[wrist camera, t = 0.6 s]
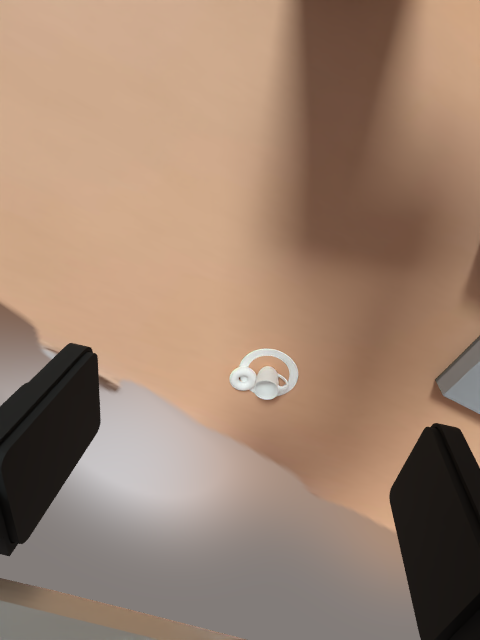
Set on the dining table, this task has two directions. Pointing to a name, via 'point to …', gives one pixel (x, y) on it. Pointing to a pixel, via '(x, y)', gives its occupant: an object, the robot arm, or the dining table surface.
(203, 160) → the dining table surface
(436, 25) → the dining table surface
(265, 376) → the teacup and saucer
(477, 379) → the outlet box
